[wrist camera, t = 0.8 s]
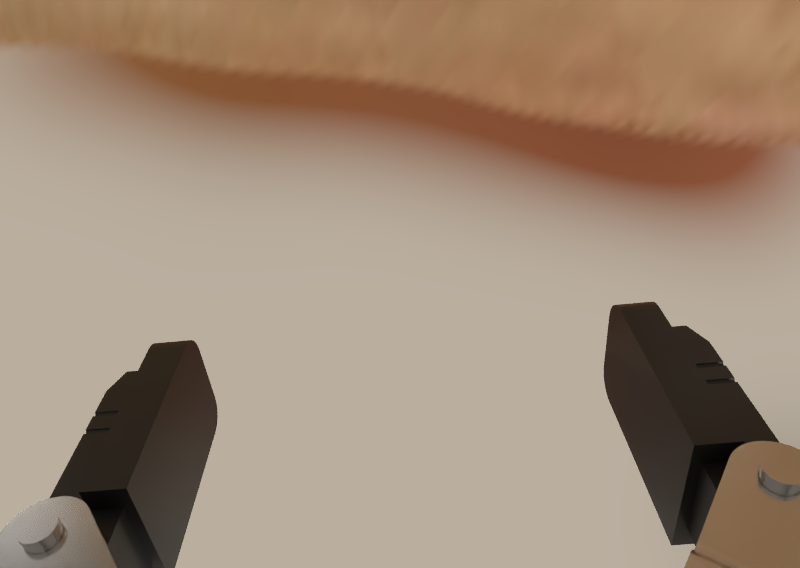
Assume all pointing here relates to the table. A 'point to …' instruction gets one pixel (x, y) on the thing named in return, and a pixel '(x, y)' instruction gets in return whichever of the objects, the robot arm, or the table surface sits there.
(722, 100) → the table surface
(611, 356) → the robot arm
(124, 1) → the table surface
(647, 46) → the table surface
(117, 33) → the table surface
